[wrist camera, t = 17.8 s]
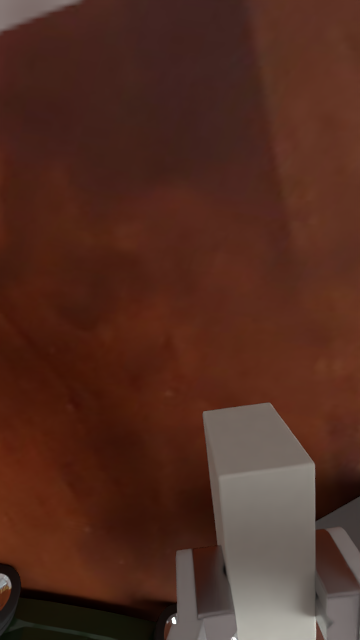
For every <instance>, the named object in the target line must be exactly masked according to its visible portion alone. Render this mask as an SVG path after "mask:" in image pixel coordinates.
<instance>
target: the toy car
mask: <svg viewBox="0 0 360 640" xmlns="http://www.w3.org/2000/svg"><path fill="white" fill-rule="evenodd" d="M20 590H21V580H20V576H19V574H18V572H17V571H16V570H15V569H14V568H12V567H10V566H7V565H0V640H166V639H167V636H168V634H169V631H170V629H171V626H172V624H175V623H177V604H173V605H170V606H168V607H166V608H165V609H164V610H163V612H162V613H161V615H160V617H159V619H158V621H157V622H153V621H148V620H144V619H139V618H134V617H130V616H125V615H120V614H116V613H111V612H106V611H101V610H95V609H90V608H84V607H78V606H73V605H67V604H61V603H56V602H50V601H43V600H35V599H28V598H20V597H19V595H20Z"/></svg>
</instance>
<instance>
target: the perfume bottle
mask: <svg viewBox="0 0 360 640" xmlns="http://www.w3.org/2000/svg"><path fill="white" fill-rule="evenodd" d="M333 527H342V528H343V529H344V530H345V531H346V533H347V534H348V536H349V537H350V539H351V540H352V542H353V543H354V545H355V546H356V548H357V549H358V551H359V552H360V497H358V498H356V499H355V500H353V501H351V502H349V503H348V504H346V505H344V506H342V507H340V508H339V509H337V510H335V511H333V512H332V513H330V514H328V515H326V516H325V517H323V518H321V519H319V520H318V521H316V522H315V530H318V529H327V528H333Z"/></svg>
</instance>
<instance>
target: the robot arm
mask: <svg viewBox="0 0 360 640" xmlns="http://www.w3.org/2000/svg"><path fill="white" fill-rule="evenodd" d="M176 582H177V623H175V624H172V626H171V629H170V631H169V634H168V636H167V639H166V640H238V636H237V623H236V615H235V609H234V603H233V598H232V592H231V587H230V583H229V581H228V578H227V577H226V569H225V561H224V556H223V551H222V546H221V545H215V546H208V547H201V548H194V549H192V548H191V549H185V550H179V551H177V552H176ZM315 590H316V599H315V618H316V620H317V622H318V625H319V627H320V629H321V632H322V634H323V637H324V639H325V640H360V552H359V551H358V549H357V548H356V546H355V545H354V543H353V542H352V540H351V539H350V537H349V536H348V534H347V533H346V531H345V530H344V529H343V528H342V527H333V528H327V529H318V530H315Z"/></svg>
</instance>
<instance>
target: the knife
mask: <svg viewBox="0 0 360 640" xmlns="http://www.w3.org/2000/svg"><path fill="white" fill-rule="evenodd" d="M203 422H204V430H205V439H206V448H207V456H208V465H209V474H210V482H211V491H212V500H213V508H214V517H215V526H216V534H217V543H218V545H221V546H222V551H223V556H224V561H225V569H226V577H227V578H228V581H229V583H230V587H231V592H232V598H233V603H234V609H235V615H236V623H237V636H238V640H316V618H315V599H316V590H315V464H314V462H313V461H312V459H311V458H310V456H309V455H308V454H307V452H306V451H305V450H304V448H303V447H302V446H301V444H300V443H299V441H298V440H297V439H296V437H295V436H294V435H293V433H292V432H291V431H290V429H289V428H288V427H287V425H286V424H285V422H284V421H283V420H282V418H281V417H280V416H279V414H278V413H277V412H276V410H275V409H274V407H273V406H272V405H271V403H262V404H255V405H247V406H240V407H233V408H225V409H218V410H211V411H204V412H203Z"/></svg>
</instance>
